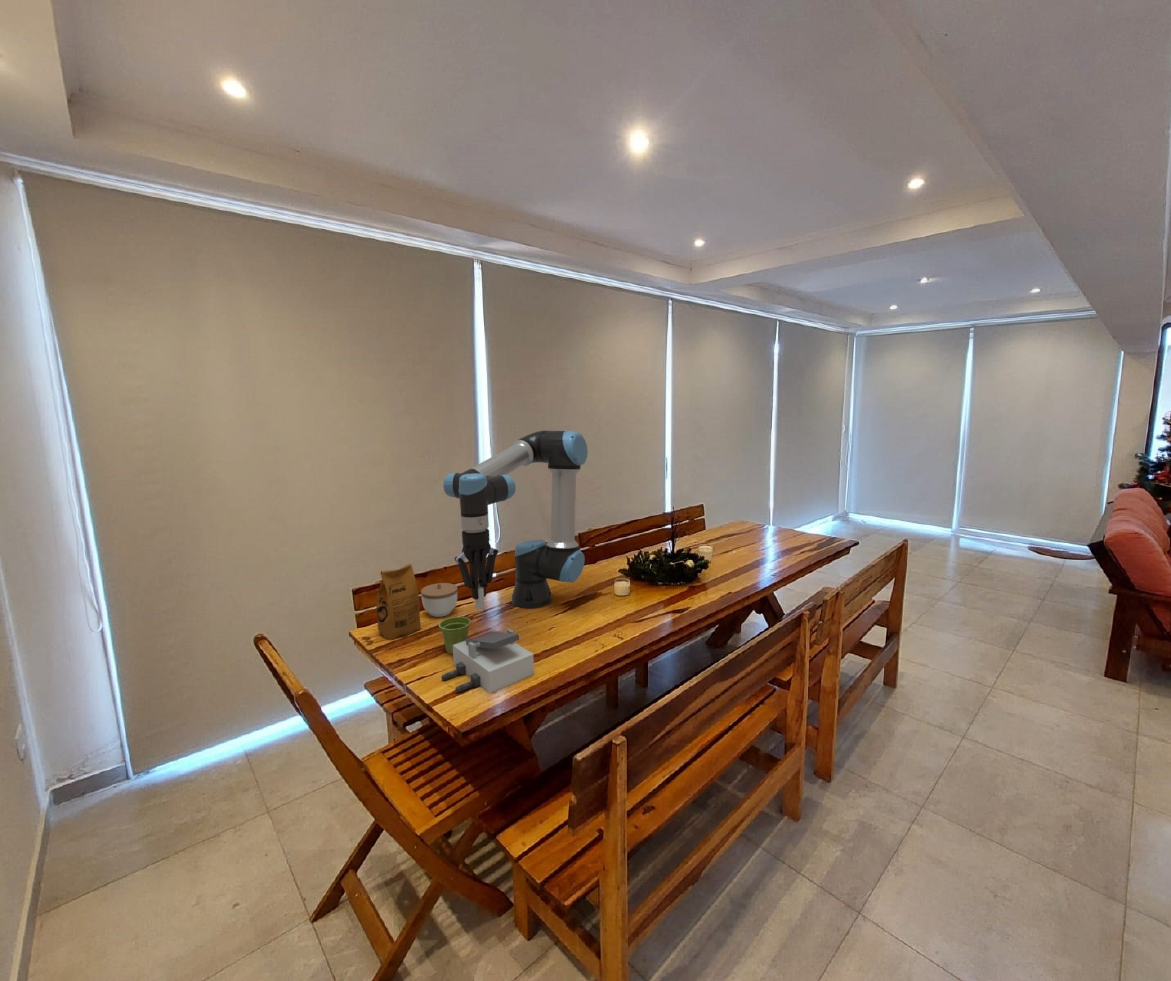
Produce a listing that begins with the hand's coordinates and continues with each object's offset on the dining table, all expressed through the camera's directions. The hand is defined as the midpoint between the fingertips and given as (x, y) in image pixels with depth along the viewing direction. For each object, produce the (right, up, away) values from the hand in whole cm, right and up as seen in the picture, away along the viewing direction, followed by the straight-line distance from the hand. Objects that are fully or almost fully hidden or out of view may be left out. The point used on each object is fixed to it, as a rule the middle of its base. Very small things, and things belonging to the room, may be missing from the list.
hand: (479, 608), depth 147 cm
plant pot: (-9, -15, +10) cm, 20 cm away
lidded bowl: (-22, -10, +37) cm, 44 cm away
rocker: (+4, -8, -4) cm, 10 cm away
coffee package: (-31, -13, +22) cm, 40 cm away
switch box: (+2, -17, -5) cm, 18 cm away
